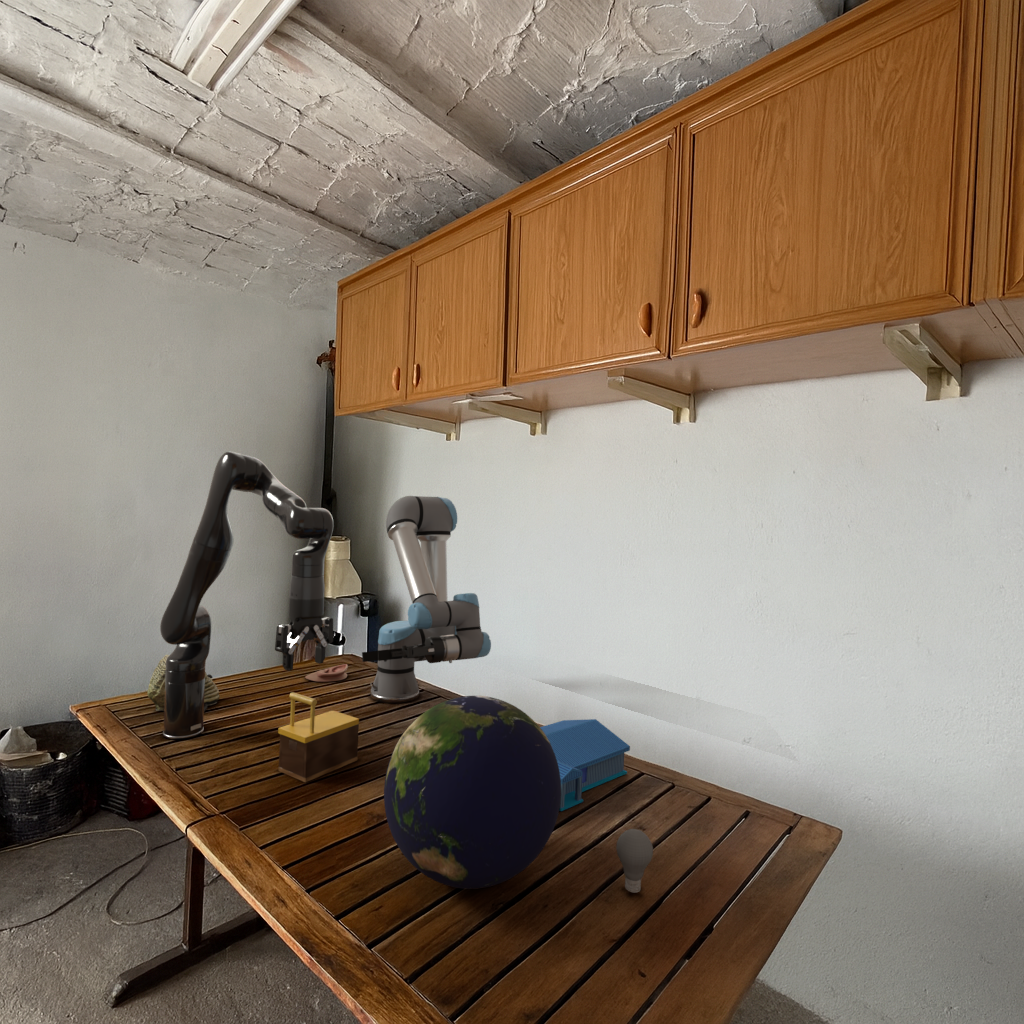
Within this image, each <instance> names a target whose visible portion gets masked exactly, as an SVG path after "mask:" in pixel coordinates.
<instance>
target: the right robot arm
mask: <svg viewBox="0 0 1024 1024" xmlns="http://www.w3.org/2000/svg"><path fill="white" fill-rule="evenodd" d="M457 524H458V512H457V508H456V506H455V504H454V503H453V502H452V500H451V499H450V498H447V497H442V496H441V497H440V496H420V495H419V496H418V495H417V496H416V495H405V496H403V497H400V498H397V500H395V501H394V502H393V503H392V505H391V506H390V507H389V509H388V511H387V514H386V520H385V530H386V533H387V536H388V538H389V539H390V540H391V541H392V542H393V545H394V548H395V551H396V555H397V558H398V561H399V564H400V568H401V570H402V574H403V577H404V580H405V584H406V586H407V590H408V594H409V597H410V601H411V604H410V605H409V606H408V609H407V620H396V621H391V622H387V623H386V624H384V625H382V626H381V627H380V628H379V632H378V639H377V650H372V651H362V652H361V657H362V658H361V659H362V663H367V662H373V661H374V662H376V661H377V667H376V669H377V671H376V675H375V677H374V680H373V683H372V684H371V688H370V698H371V699H372V700H374V701H376V702H380V703H385V704H404V703H408V702H412V701H415V700H417V699H418V698H419V696H420V689H419V684H418V683H419V681H418V680H417V678H416V674H415V662H424V661H426V662H427V663H428V664H437V663H442V662H443V663H444V662H448V663H449V664H452V663H453V661H461V660H463V661H464V660H472V659H478V658H484V657H486V656H488V655H489V654H490V652H491V649H492V640H491V639H490V635H489V634H488V632H486V631H482V626H481V617H480V615H481V614H480V603H479V598H478V594H476V593H475V592H466V593H458V594H457V593H456V594H455V595H454V596H453V597H452V598H453V600H449V599H448V555H447V554H448V552H447V549H448V548H447V541H448V540H449V539H450V538H451V536H452V535H451V533H452V532H453V531H454V530H456V527H457Z"/></svg>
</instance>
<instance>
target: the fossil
mask: <svg viewBox="0 0 1024 1024" xmlns="http://www.w3.org/2000/svg"><path fill="white" fill-rule="evenodd" d="M169 655H170V654H165V655H164V656H163V657H162V658H161V659H160V660H159V662H158V663H157V666H156V667H155V669H154V670H153V672H152V675H151V677H150V680H149V684H148V688H147V697H148V699H149V700H150V701H152V703H153V704H154V706H155V711H158V712H159V711H162V712H163V711H164V705H165V674H166V659H167V658H168V656H169ZM207 675H208V674H207V672H206V671H205V693H204V704H206V703H207V705H208V706H213V705H215V704H217V703H218V701H219V699H220V698H221V696H220V690H219V688H218V686H217V685H216V683H215V682H214V681H213V678H209V677H208V676H207Z"/></svg>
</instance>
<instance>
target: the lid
mask: <svg viewBox="0 0 1024 1024" xmlns="http://www.w3.org/2000/svg"><path fill="white" fill-rule="evenodd" d="M288 698H289V699H290V713H289V714H290V715H289V716H290V718H289V721H290V722H289V724H287V725H283V726H279V727H278V731H277V733H278V734H279V735H280V734H281V735H284V736H287V737H289V738H292V739H295V740H297V741H300V742H303V743H308V742H310V741H313V740H316V739H319V738H321V737H324V736H327V735H330V734H332V733H335V732H338V731H341V730H343V729H346V728H349V727H352V726H354V725H357V724H359V725H360V718H358V717H355V716H352V715H349V714H346V713H343V712H340V711H336V710H328V711H326V712H324V713H321V714H317V715H316V714H315V713H316V705H317V703H318V700H317V699H316V698H313V697H310V696H306V695H303V694H300V693H296V692H294V691H292V692H290V693H289V696H288ZM296 702H300V703H303V704H305V705H309V706H310V712H309V713H310V716H309V717H308V718H305V719H301V720H298V721H295V715H296V713H295V712H296Z"/></svg>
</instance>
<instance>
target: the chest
mask: <svg viewBox="0 0 1024 1024" xmlns="http://www.w3.org/2000/svg"><path fill="white" fill-rule="evenodd" d="M359 729H360V723H359V724H357V725H354V726H352V727H349V728H346V729H343V730H341V731H338V732H335V733H332V734H330V735H327V736H324V737H321V738H319V739H316V740H313V741H310V742H308V743H303V742H300V741H297V740H295V739H292V738H289V737H287V736H284V735H281V734H279V752H278V772H280V773H282V774H284V775H287V776H290V777H292V778H294V779H296V780H298V781H301V782H303V783H307V782H310V781H312V780H314V779H317V778H319V777H322V776H324V775H326V774H329V773H331V772H333V771H336V770H338V769H340V768H342V767H345V766H347V765H350V764H352V763H354V762H357V761H358V760H359V757H358V756H359V755H358V754H359V750H358V749H359Z"/></svg>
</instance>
